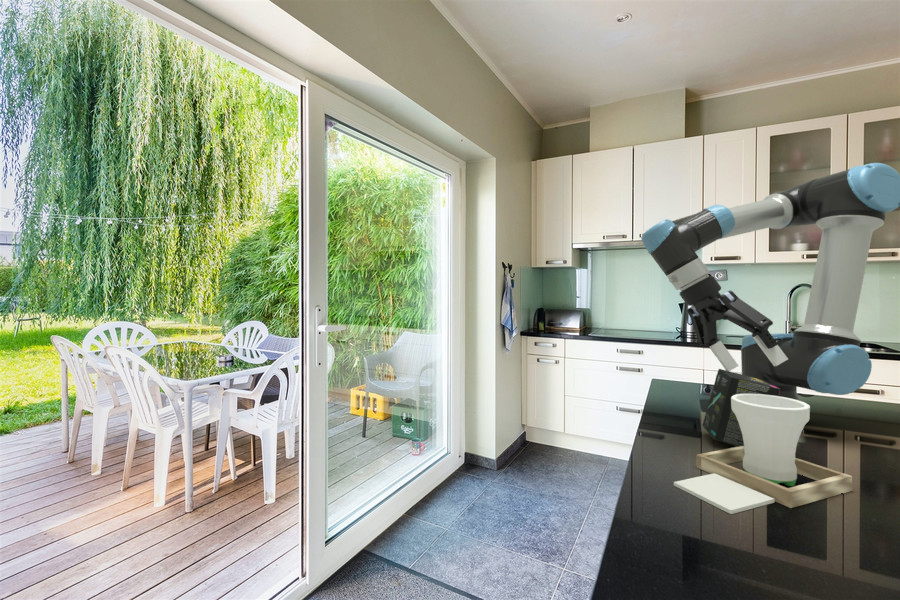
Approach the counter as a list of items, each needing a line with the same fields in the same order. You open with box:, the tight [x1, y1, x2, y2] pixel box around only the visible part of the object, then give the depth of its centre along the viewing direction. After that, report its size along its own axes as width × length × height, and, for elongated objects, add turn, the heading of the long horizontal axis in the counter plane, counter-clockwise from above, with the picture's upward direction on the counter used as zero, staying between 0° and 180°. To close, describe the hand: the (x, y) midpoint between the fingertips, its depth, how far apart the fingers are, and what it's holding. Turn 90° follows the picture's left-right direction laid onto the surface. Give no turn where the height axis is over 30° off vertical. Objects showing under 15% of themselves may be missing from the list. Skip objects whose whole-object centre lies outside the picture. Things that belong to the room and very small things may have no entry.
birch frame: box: [695, 446, 853, 509], centre depth 72 cm, size 16×16×2 cm
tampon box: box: [702, 368, 780, 447], centre depth 89 cm, size 11×9×15 cm
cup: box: [731, 394, 811, 487], centre depth 72 cm, size 11×11×14 cm
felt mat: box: [673, 473, 775, 515], centre depth 67 cm, size 10×10×1 cm
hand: (756, 367), depth 84 cm, fingers open, 14 cm apart
